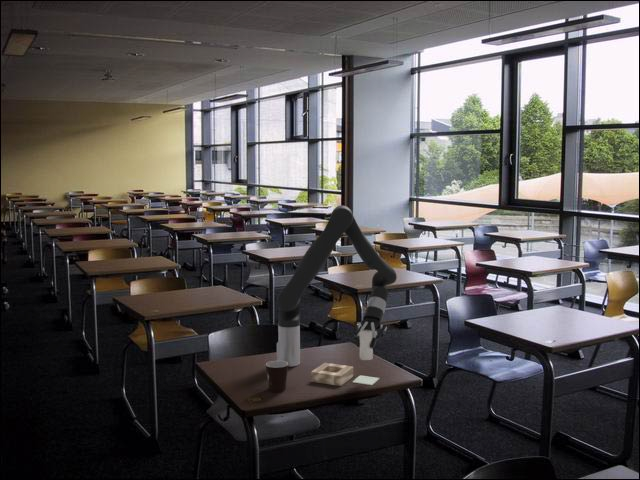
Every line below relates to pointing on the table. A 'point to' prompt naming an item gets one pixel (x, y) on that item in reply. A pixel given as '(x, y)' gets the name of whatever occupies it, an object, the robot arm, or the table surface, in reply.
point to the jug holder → (332, 374)
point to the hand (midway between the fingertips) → (364, 346)
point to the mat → (365, 380)
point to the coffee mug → (277, 375)
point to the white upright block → (366, 344)
